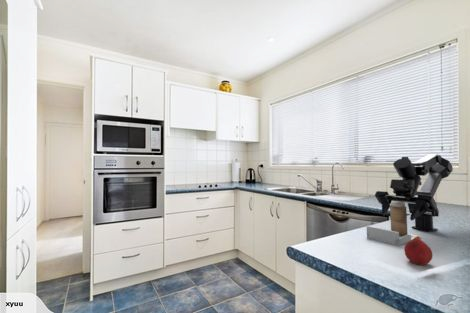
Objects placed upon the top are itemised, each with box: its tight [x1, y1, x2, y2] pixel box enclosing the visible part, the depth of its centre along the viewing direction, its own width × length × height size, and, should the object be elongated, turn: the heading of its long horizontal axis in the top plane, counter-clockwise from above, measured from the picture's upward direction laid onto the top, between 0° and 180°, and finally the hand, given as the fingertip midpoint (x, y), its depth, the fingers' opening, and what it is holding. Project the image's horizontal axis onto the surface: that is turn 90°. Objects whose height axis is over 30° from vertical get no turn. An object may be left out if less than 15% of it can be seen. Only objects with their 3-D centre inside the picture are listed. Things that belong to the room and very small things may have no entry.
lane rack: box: [366, 225, 421, 246], centre depth 82 cm, size 17×10×5 cm, turn 121°
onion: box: [403, 235, 434, 266], centre depth 60 cm, size 6×6×8 cm
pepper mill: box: [389, 201, 409, 237], centre depth 84 cm, size 5×5×12 cm
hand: (396, 217), depth 84 cm, fingers open, 9 cm apart
